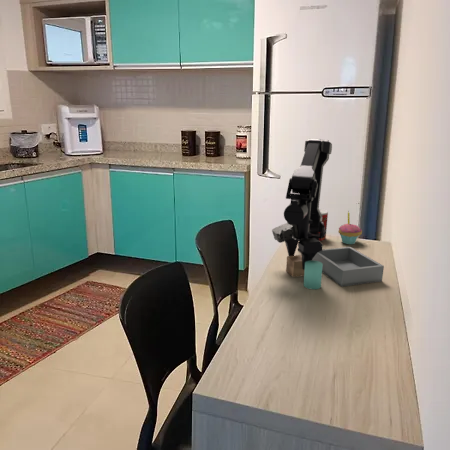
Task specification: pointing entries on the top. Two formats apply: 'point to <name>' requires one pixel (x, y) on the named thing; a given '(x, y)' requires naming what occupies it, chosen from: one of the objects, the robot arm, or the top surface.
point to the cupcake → (349, 232)
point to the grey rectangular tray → (349, 266)
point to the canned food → (324, 220)
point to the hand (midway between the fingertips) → (297, 263)
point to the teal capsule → (313, 274)
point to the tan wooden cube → (295, 265)
